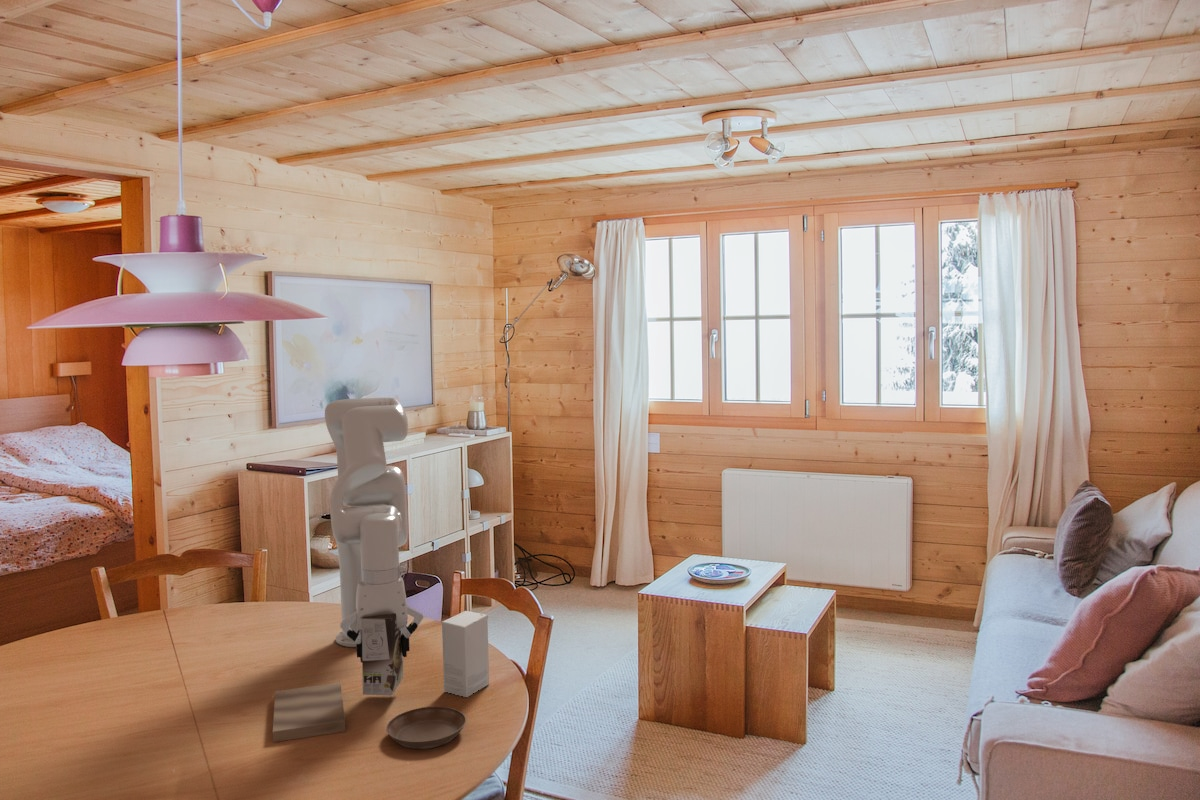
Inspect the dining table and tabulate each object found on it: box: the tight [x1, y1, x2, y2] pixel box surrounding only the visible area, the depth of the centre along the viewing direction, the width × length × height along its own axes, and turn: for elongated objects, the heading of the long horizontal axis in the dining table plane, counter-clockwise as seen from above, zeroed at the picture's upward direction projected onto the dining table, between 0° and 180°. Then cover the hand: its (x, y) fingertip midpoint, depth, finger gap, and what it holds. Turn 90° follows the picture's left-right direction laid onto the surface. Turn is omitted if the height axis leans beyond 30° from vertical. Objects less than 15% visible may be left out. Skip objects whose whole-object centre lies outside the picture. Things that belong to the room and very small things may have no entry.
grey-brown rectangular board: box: [272, 682, 346, 743], centre depth 180 cm, size 20×13×2 cm, turn 18°
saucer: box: [386, 706, 467, 750], centre depth 171 cm, size 15×15×3 cm
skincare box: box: [441, 610, 490, 698], centre depth 192 cm, size 8×7×16 cm
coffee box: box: [361, 614, 404, 696], centre depth 186 cm, size 9×6×16 cm
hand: (383, 657), depth 187 cm, fingers closed on coffee box, 7 cm apart
